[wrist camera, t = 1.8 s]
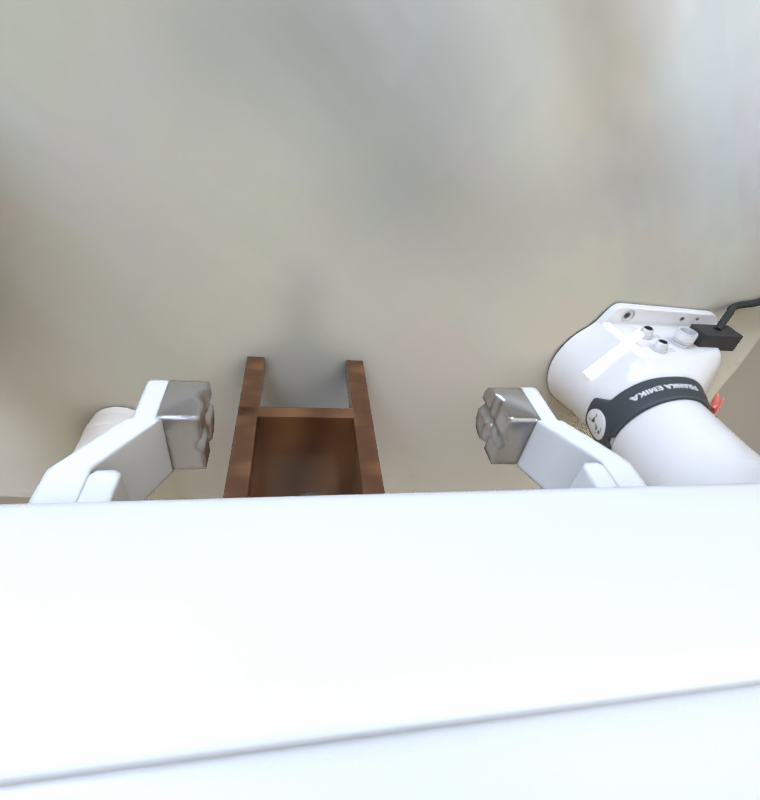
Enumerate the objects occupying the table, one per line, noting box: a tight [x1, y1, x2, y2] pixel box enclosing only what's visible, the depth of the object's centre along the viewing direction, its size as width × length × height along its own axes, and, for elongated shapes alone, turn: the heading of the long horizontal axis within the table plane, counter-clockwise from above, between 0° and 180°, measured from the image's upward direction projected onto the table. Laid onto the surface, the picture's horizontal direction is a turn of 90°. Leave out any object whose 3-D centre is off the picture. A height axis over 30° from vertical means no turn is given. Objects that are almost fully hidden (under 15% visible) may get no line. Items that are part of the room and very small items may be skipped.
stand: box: [223, 357, 385, 498], centre depth 52 cm, size 14×20×27 cm
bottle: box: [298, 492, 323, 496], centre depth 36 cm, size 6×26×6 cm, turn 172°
